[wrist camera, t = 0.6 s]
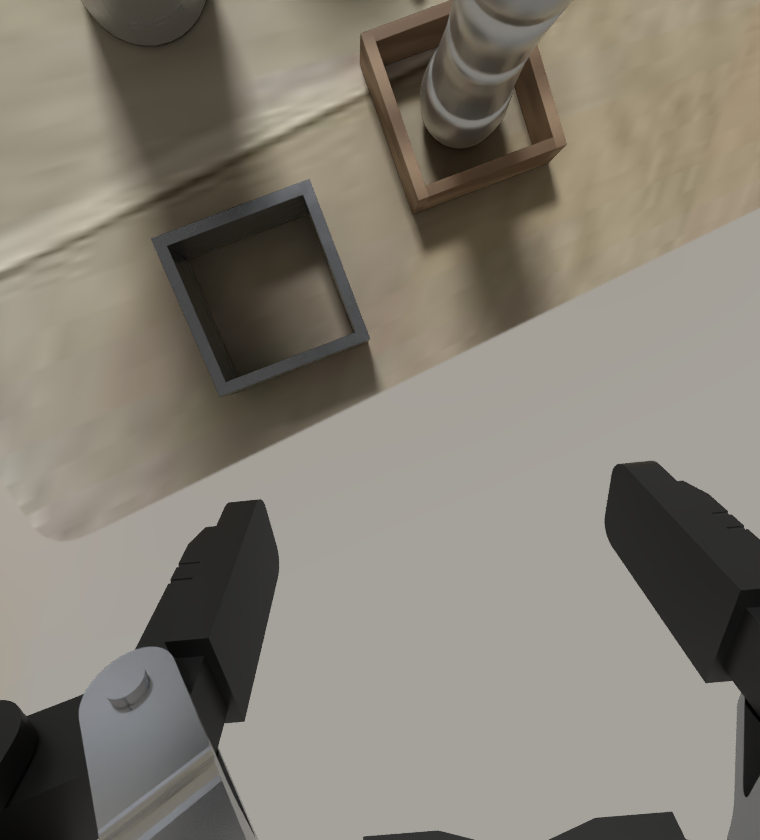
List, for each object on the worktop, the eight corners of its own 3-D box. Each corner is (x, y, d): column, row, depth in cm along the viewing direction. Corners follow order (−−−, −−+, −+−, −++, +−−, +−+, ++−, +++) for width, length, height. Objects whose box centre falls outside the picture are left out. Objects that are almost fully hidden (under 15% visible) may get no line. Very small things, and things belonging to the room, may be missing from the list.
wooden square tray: (359, 62, 34) (360, 33, 31) (502, 9, 34) (516, -25, 31) (412, 214, 35) (418, 200, 32) (548, 162, 35) (566, 144, 32)
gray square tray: (173, 253, 34) (150, 238, 30) (314, 200, 35) (309, 178, 31) (234, 393, 36) (219, 396, 32) (367, 341, 36) (370, 338, 32)
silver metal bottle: (512, 94, 35) (729, -269, 15) (472, 175, 35) (630, -69, 15) (439, 50, 34) (565, -393, 14) (400, 134, 34) (467, -179, 15)
